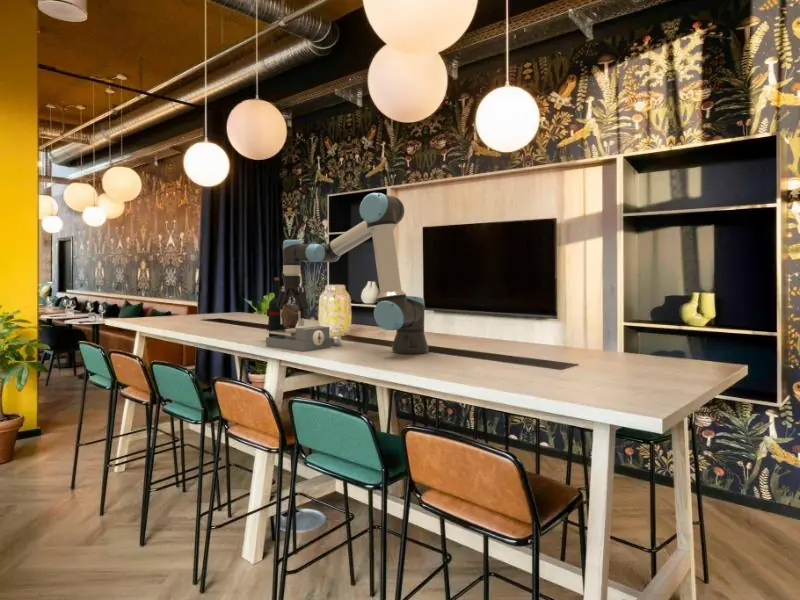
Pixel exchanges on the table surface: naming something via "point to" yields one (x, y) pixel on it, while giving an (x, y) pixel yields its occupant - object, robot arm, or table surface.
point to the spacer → (335, 341)
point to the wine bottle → (274, 312)
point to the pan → (284, 332)
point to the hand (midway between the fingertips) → (292, 324)
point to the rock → (289, 315)
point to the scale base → (302, 339)
